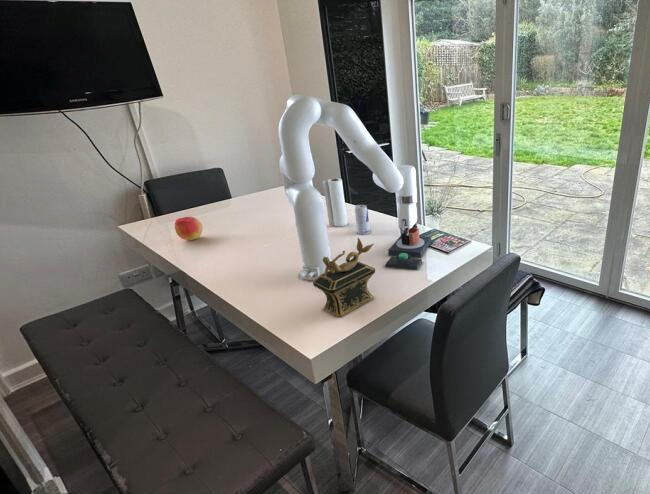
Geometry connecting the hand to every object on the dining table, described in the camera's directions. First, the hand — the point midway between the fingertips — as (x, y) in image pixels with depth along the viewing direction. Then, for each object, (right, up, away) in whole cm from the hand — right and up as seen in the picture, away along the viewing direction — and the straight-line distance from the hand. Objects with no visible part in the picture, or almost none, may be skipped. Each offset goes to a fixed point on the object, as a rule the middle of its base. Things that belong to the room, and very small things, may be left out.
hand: (409, 239), depth 162 cm
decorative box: (-13, -20, -34) cm, 41 cm away
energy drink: (-23, +3, +18) cm, 29 cm away
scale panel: (-1, -9, -11) cm, 15 cm away
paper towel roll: (-36, +7, +27) cm, 46 cm away
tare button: (-1, -7, -12) cm, 14 cm away
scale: (0, -4, +2) cm, 4 cm away
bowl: (0, -1, +1) cm, 1 cm away
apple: (-95, 0, +13) cm, 96 cm away
